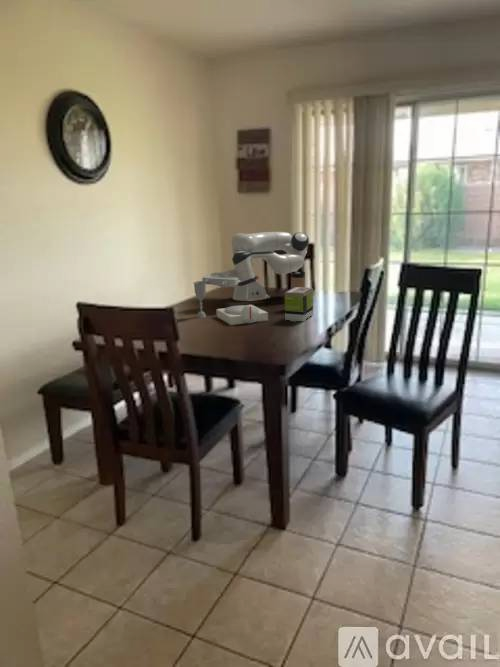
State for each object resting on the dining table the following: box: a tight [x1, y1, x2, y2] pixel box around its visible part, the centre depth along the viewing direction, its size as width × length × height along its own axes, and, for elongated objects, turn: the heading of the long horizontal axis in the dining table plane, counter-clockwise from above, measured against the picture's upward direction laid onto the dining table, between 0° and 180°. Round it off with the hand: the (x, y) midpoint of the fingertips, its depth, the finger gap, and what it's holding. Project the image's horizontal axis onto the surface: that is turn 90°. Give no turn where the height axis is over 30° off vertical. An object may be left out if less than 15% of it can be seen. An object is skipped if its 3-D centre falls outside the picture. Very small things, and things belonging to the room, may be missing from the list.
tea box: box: [284, 286, 314, 322], centre depth 250 cm, size 15×10×15 cm
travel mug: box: [290, 270, 306, 289], centre depth 271 cm, size 8×8×20 cm
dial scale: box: [216, 304, 269, 326], centre depth 252 cm, size 20×22×9 cm
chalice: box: [193, 280, 207, 319], centre depth 257 cm, size 7×7×18 cm
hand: (213, 283), depth 264 cm, fingers open, 8 cm apart
